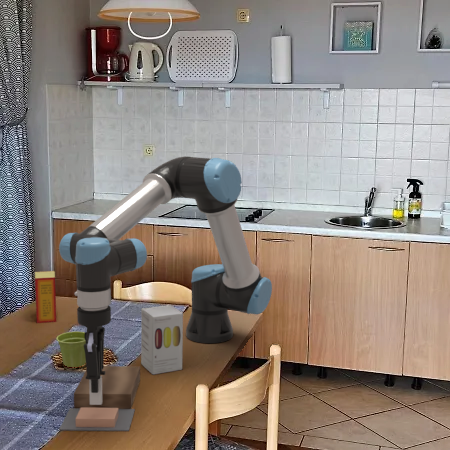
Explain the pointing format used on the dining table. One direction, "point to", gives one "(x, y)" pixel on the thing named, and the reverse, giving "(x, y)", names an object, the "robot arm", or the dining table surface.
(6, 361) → the dining table surface
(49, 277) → the baking soda box
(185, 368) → the dining table surface
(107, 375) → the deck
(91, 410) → the tile
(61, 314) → the dining table surface
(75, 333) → the plant pot
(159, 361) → the supplement box
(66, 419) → the mat
